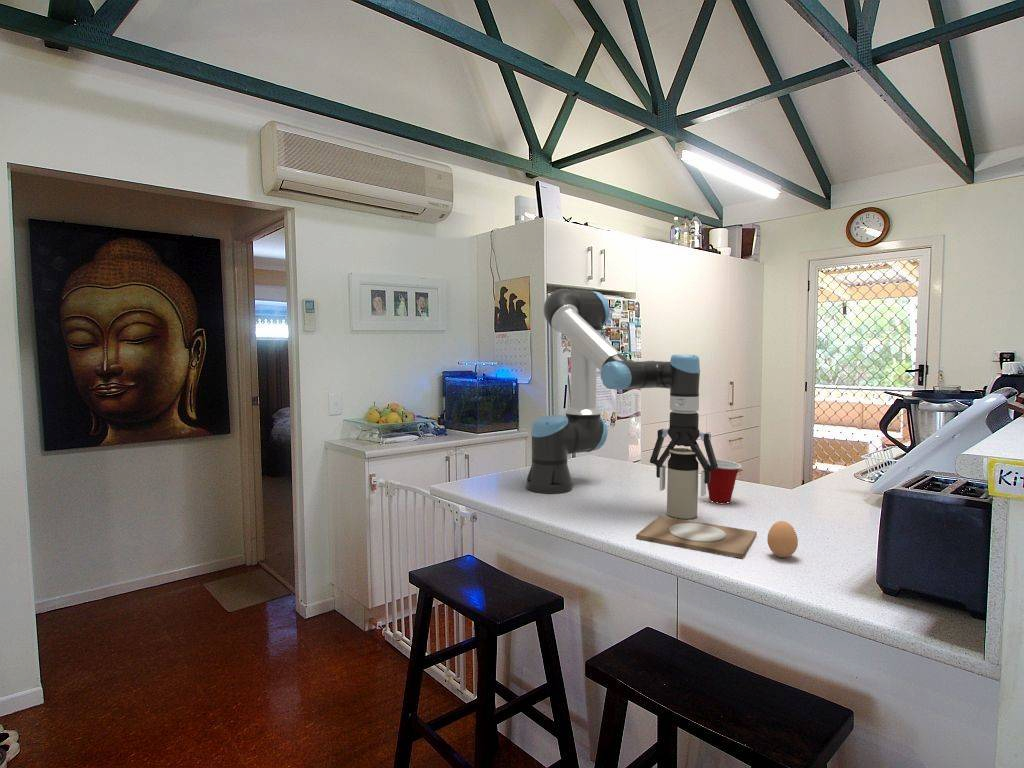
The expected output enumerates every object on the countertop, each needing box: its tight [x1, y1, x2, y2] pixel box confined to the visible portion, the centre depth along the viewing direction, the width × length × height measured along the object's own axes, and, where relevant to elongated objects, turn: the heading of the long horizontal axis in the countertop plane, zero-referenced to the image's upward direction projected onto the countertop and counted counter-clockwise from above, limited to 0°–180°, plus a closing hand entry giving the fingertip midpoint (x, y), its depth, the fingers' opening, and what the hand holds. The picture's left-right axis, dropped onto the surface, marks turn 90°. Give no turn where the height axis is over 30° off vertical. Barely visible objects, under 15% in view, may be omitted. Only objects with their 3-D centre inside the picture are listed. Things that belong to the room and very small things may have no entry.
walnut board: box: [635, 515, 757, 559], centre depth 135 cm, size 24×18×1 cm
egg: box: [767, 520, 799, 559], centre depth 122 cm, size 6×6×8 cm
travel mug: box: [666, 447, 700, 520], centre depth 152 cm, size 8×8×18 cm
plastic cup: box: [706, 458, 742, 503], centre depth 166 cm, size 11×11×12 cm
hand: (682, 492), depth 153 cm, fingers open, 10 cm apart
